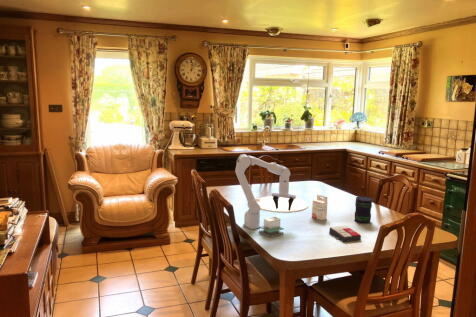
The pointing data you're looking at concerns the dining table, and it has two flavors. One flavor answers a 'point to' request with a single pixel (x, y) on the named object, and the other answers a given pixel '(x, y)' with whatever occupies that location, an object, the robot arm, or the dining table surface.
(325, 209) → the ink cartridge box
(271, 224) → the block
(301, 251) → the dining table surface
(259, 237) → the dining table surface
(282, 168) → the robot arm
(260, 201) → the lazy susan
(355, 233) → the calculator
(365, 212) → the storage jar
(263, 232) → the stand
